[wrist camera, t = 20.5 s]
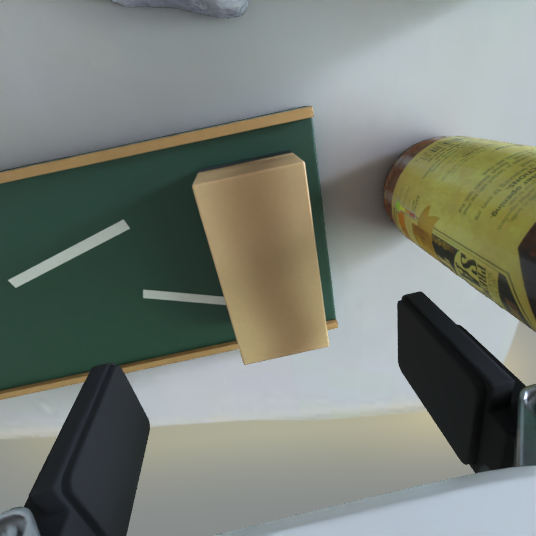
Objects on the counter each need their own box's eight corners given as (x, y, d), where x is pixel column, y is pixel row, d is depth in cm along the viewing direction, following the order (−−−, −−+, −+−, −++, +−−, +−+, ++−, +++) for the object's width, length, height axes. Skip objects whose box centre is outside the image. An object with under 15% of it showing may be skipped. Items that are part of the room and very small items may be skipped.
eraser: (241, 324, 23) (243, 365, 19) (198, 169, 18) (190, 185, 14) (313, 308, 23) (329, 347, 19) (290, 149, 18) (305, 161, 14)
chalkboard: (-17, 389, 24) (-32, 406, 23) (-163, 205, 18) (-197, 214, 17) (332, 314, 24) (338, 328, 23) (306, 105, 18) (312, 106, 17)
